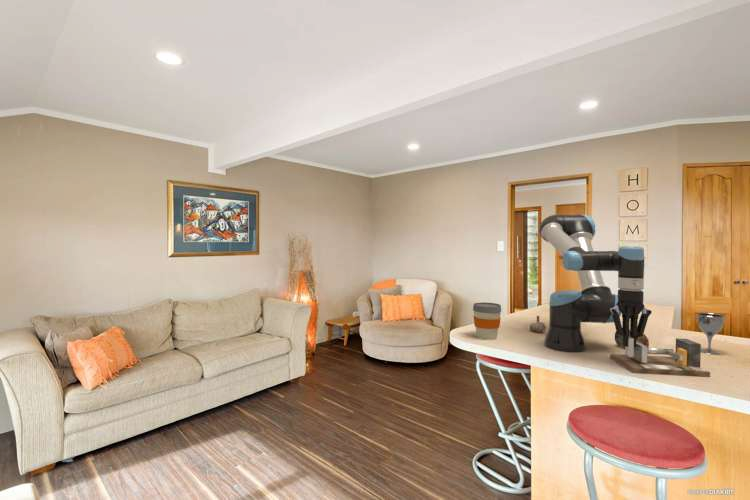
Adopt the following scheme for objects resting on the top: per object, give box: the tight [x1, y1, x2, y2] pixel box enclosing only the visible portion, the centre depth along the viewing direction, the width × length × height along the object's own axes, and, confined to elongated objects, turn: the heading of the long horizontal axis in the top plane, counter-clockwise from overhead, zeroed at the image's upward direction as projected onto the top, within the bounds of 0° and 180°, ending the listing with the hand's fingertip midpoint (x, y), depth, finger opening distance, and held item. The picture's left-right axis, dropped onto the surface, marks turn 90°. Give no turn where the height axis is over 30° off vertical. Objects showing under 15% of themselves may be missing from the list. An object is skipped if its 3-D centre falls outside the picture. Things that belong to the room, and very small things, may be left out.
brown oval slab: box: [614, 328, 650, 350], centre depth 150 cm, size 15×3×8 cm, turn 6°
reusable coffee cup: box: [472, 302, 502, 340], centre depth 170 cm, size 13×13×15 cm
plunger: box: [633, 341, 683, 363], centre depth 129 cm, size 12×11×6 cm
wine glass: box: [696, 312, 725, 356], centre depth 148 cm, size 8×8×15 cm
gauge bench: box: [609, 337, 711, 378], centre depth 130 cm, size 23×16×10 cm
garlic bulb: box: [529, 315, 547, 334], centre depth 181 cm, size 8×7×8 cm
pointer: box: [677, 348, 687, 366], centre depth 124 cm, size 1×3×5 cm, turn 171°
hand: (629, 355), depth 131 cm, fingers closed
